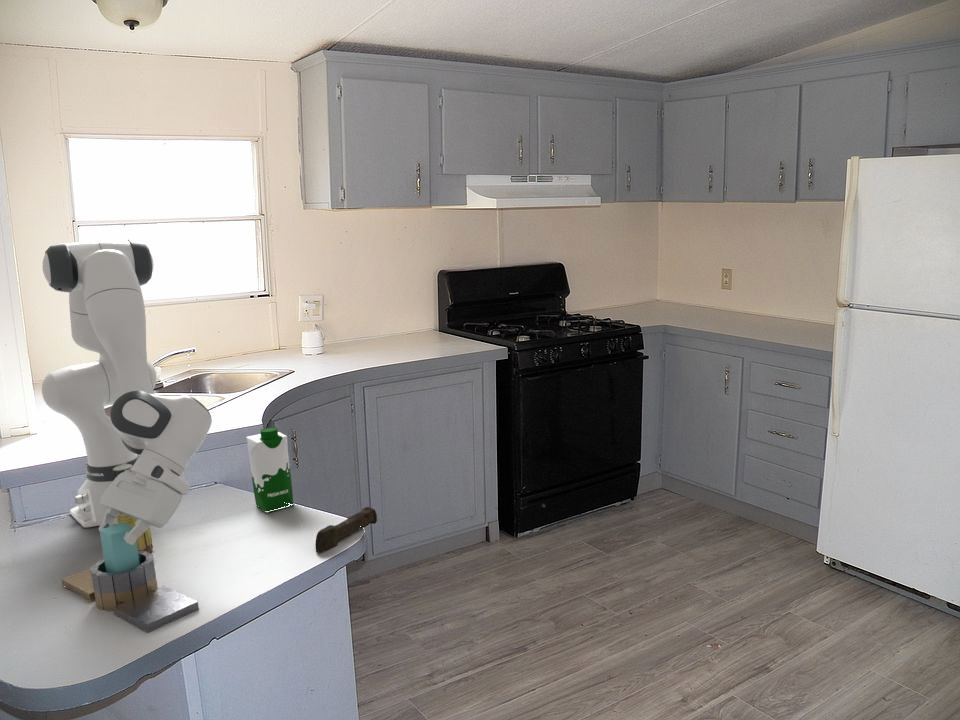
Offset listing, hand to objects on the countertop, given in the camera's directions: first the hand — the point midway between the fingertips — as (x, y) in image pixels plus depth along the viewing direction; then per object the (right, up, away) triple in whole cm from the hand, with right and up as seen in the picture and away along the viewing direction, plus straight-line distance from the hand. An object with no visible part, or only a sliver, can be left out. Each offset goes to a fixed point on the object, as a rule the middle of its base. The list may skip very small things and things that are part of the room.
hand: (114, 537), depth 153 cm
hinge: (+1, -12, +3) cm, 12 cm away
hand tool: (+40, -6, +25) cm, 47 cm away
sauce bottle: (-6, -9, +24) cm, 26 cm away
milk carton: (+18, -3, +47) cm, 51 cm away
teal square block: (+1, -12, +3) cm, 12 cm away
